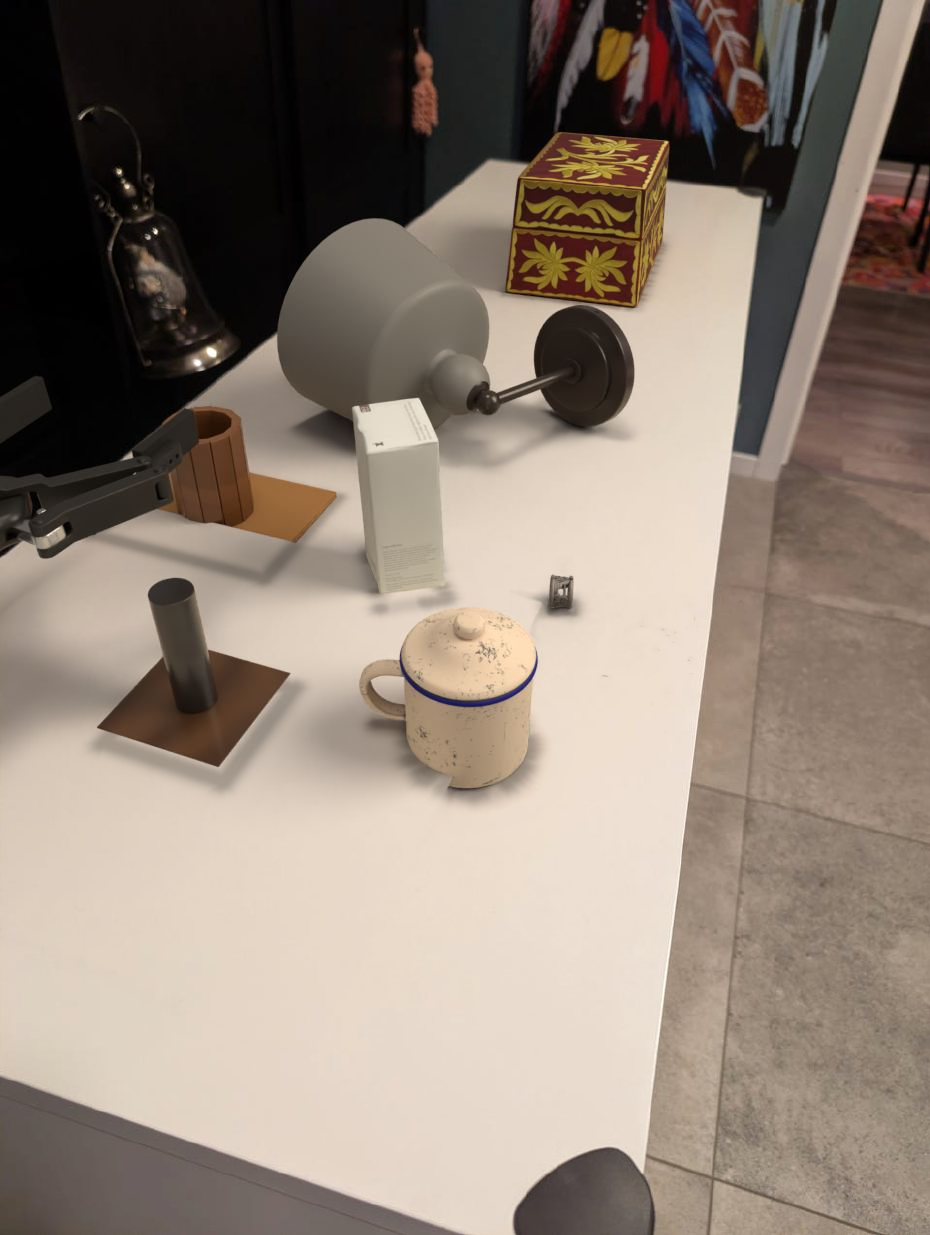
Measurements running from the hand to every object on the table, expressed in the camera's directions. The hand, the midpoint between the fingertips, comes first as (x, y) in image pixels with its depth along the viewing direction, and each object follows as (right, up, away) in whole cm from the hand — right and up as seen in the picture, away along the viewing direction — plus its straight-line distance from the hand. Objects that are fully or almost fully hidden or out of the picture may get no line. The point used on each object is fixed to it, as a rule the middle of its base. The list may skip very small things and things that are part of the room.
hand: (116, 408), depth 74 cm
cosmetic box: (+21, -12, +10) cm, 27 cm away
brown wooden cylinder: (+3, -6, +17) cm, 18 cm away
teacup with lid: (+26, -25, -5) cm, 36 cm away
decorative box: (+45, +36, +68) cm, 89 cm away
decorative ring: (+35, -15, +7) cm, 39 cm away
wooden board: (+3, -6, +17) cm, 18 cm away
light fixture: (+26, +4, +30) cm, 39 cm away
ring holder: (+7, -23, -3) cm, 24 cm away
